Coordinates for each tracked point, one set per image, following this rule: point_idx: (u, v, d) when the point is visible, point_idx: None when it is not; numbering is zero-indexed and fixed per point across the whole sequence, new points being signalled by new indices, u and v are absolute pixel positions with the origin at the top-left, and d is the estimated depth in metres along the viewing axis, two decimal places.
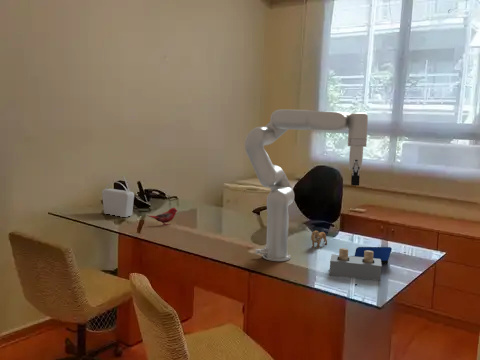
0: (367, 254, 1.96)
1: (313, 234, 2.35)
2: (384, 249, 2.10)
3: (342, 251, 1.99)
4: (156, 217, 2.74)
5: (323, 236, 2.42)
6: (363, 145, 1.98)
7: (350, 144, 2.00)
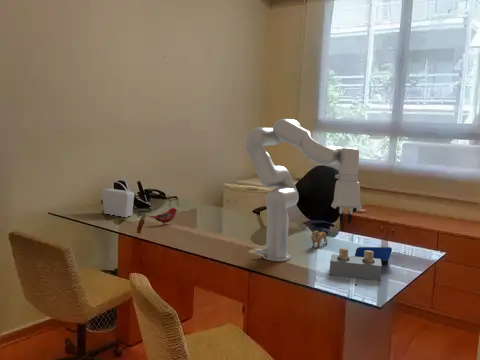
0: (367, 254, 1.96)
1: (313, 234, 2.36)
2: (384, 249, 2.10)
3: (342, 251, 1.99)
4: (156, 217, 2.74)
5: (323, 236, 2.43)
6: None
7: (354, 181, 1.93)
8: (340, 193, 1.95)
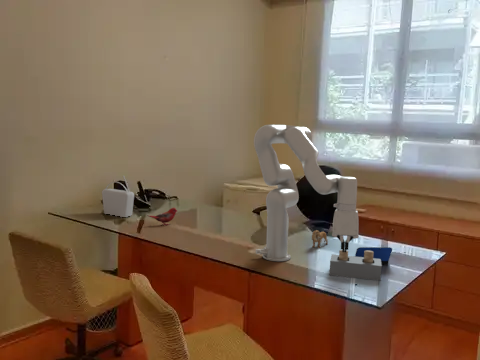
0: (367, 254, 1.96)
1: (314, 234, 2.36)
2: (385, 249, 2.10)
3: (342, 253, 1.99)
4: (156, 217, 2.74)
5: (324, 236, 2.43)
6: None
7: (353, 210, 1.95)
8: (339, 222, 1.97)
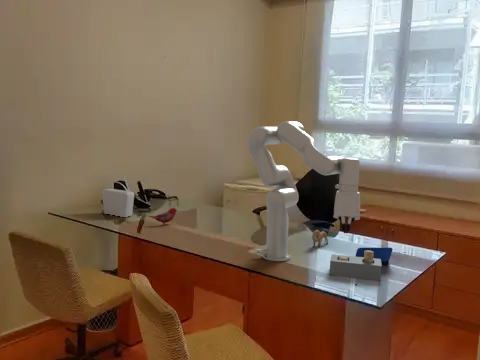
0: (367, 254, 1.96)
1: (314, 233, 2.37)
2: (385, 250, 2.09)
3: None
4: (156, 217, 2.74)
5: (324, 235, 2.44)
6: None
7: (354, 191, 1.94)
8: (340, 203, 1.96)
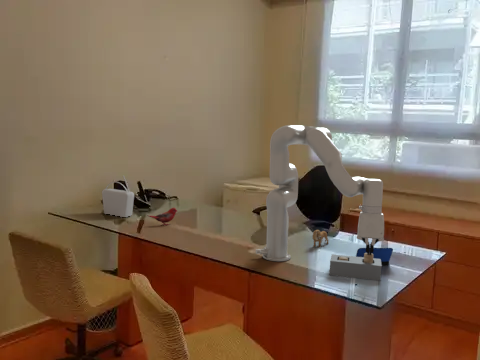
0: (367, 256, 1.97)
1: (314, 233, 2.37)
2: (385, 250, 2.09)
3: None
4: (156, 217, 2.74)
5: (324, 235, 2.44)
6: None
7: (378, 212, 1.93)
8: (364, 225, 1.94)
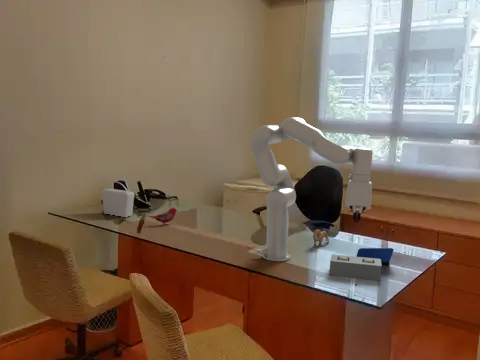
0: None
1: (315, 233, 2.38)
2: (386, 250, 2.08)
3: None
4: (156, 217, 2.74)
5: (325, 235, 2.45)
6: None
7: (366, 181, 1.96)
8: (352, 192, 1.98)
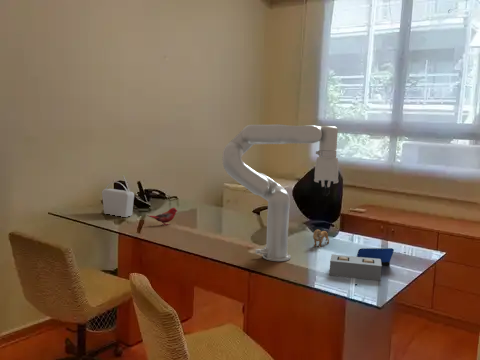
0: None
1: (315, 233, 2.38)
2: (386, 250, 2.08)
3: None
4: (156, 217, 2.74)
5: (325, 235, 2.45)
6: None
7: (333, 156, 2.11)
8: (320, 168, 2.13)
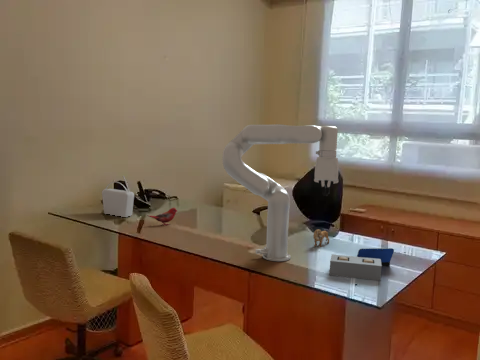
0: None
1: (315, 233, 2.38)
2: (386, 250, 2.08)
3: None
4: (156, 217, 2.74)
5: (325, 235, 2.45)
6: None
7: (333, 156, 2.11)
8: (320, 168, 2.13)
